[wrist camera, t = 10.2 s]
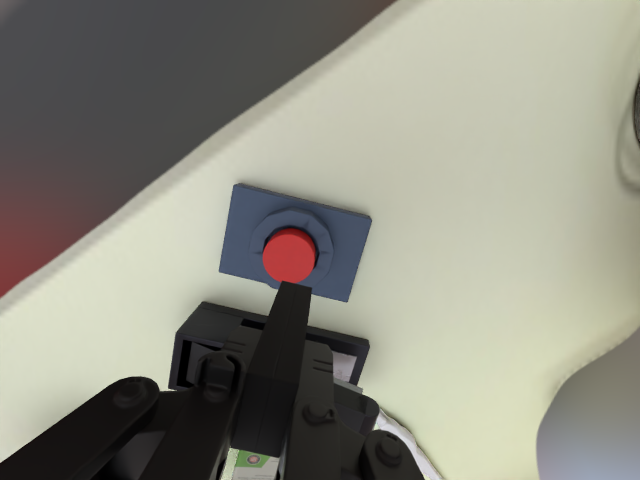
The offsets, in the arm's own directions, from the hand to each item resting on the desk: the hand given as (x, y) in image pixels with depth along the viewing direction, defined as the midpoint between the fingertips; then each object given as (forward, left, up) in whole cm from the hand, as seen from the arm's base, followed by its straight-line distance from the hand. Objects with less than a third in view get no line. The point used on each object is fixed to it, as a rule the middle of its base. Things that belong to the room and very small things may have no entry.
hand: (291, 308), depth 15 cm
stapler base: (0, +12, -14) cm, 18 cm away
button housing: (+1, +1, -14) cm, 14 cm away
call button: (+1, +1, -11) cm, 11 cm away
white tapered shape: (-17, +21, -14) cm, 30 cm away
